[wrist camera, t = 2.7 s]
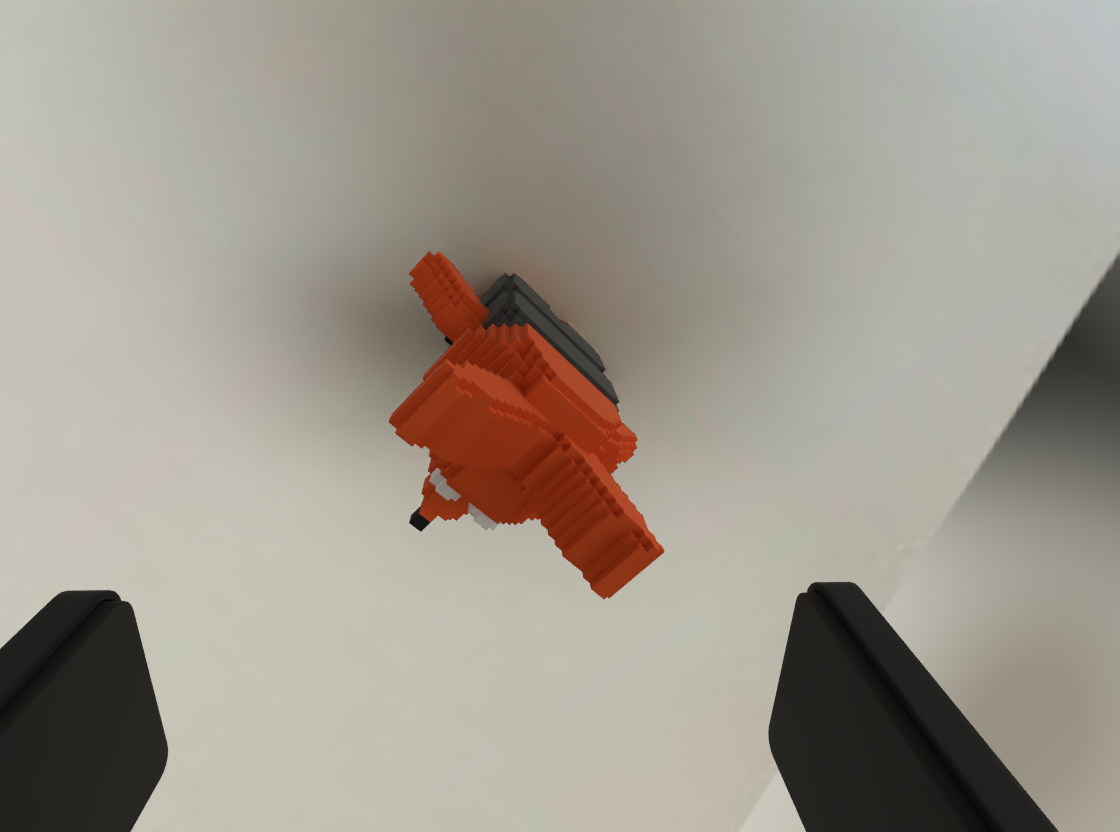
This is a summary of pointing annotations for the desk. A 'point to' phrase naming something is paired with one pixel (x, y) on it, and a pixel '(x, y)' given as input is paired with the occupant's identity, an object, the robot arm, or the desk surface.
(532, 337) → the toy animal
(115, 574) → the desk surface
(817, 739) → the robot arm
